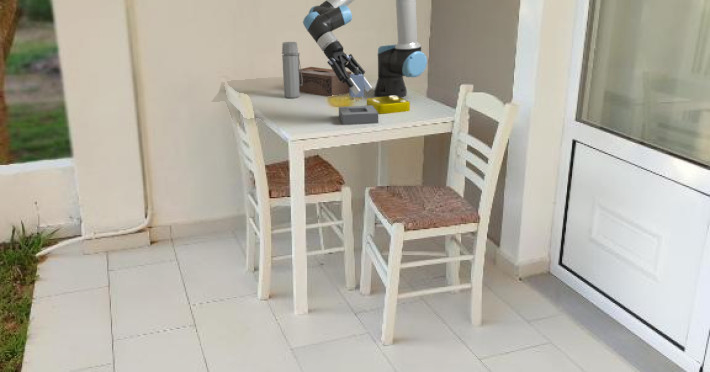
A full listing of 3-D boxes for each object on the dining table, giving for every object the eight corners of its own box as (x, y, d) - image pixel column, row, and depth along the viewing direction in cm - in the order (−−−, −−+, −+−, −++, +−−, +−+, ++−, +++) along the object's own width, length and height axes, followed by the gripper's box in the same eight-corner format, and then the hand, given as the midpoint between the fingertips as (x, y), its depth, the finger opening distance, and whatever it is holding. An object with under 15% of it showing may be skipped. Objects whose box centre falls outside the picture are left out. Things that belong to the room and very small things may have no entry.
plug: (362, 98, 265) (361, 66, 260) (363, 101, 260) (363, 68, 256) (349, 99, 264) (349, 66, 260) (351, 101, 259) (351, 68, 255)
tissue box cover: (292, 91, 322) (291, 70, 319) (311, 86, 333) (311, 66, 329) (332, 97, 307) (331, 76, 304) (351, 92, 318) (351, 71, 314)
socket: (372, 114, 272) (372, 105, 271) (378, 123, 259) (378, 113, 258) (338, 116, 271) (338, 106, 269) (343, 124, 258) (342, 114, 256)
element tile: (365, 108, 286) (365, 97, 285) (396, 104, 292) (396, 94, 290) (378, 115, 273) (378, 104, 272) (411, 111, 278) (411, 100, 277)
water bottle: (287, 99, 303) (285, 44, 295) (281, 96, 310) (278, 42, 302) (306, 97, 307) (304, 42, 299) (299, 94, 314) (297, 40, 306)
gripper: (341, 49, 272) (373, 93, 269) (309, 55, 257) (342, 101, 254) (351, 37, 268) (383, 81, 264) (319, 42, 253) (353, 89, 249)
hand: (363, 91), depth 259 cm, fingers closed on plug, 7 cm apart
